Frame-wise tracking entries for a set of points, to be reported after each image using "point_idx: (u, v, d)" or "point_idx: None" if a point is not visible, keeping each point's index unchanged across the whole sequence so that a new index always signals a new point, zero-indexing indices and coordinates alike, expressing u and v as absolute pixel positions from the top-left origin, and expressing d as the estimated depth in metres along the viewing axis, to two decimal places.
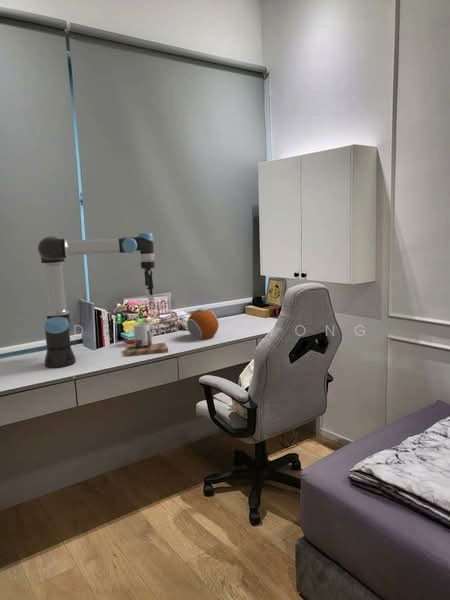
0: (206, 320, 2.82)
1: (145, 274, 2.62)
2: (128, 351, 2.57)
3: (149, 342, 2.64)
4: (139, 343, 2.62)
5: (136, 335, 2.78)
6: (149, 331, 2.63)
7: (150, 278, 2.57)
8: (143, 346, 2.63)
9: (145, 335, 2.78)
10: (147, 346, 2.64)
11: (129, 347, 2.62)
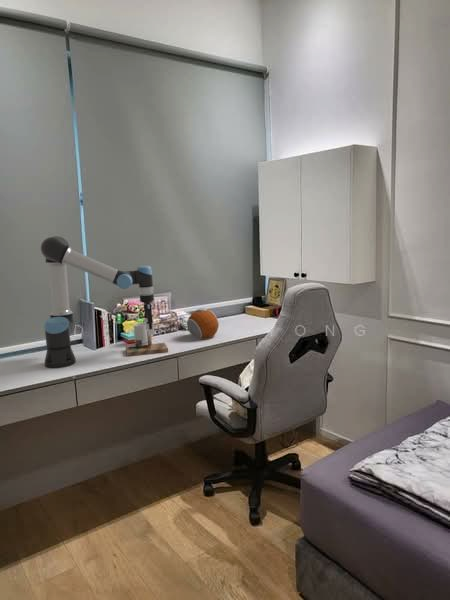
0: (206, 320, 2.82)
1: (144, 308, 2.59)
2: (128, 351, 2.57)
3: (149, 342, 2.64)
4: (139, 343, 2.62)
5: (136, 335, 2.78)
6: None
7: (149, 312, 2.54)
8: (143, 346, 2.63)
9: (145, 335, 2.78)
10: (147, 346, 2.64)
11: (129, 347, 2.62)
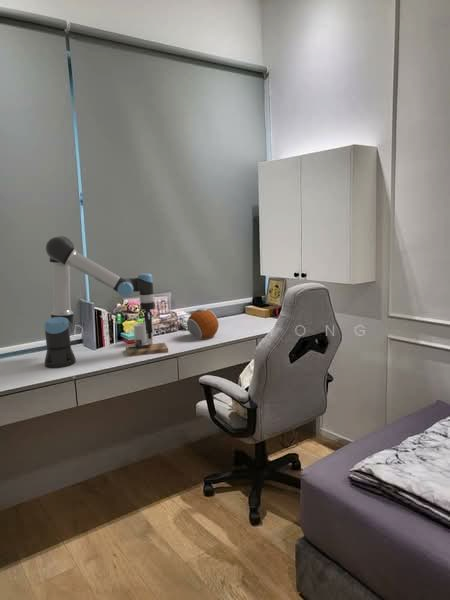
0: (206, 320, 2.82)
1: (145, 316, 2.60)
2: (128, 351, 2.57)
3: None
4: (139, 343, 2.62)
5: (136, 335, 2.78)
6: None
7: (149, 323, 2.58)
8: (143, 346, 2.63)
9: (145, 335, 2.78)
10: (147, 346, 2.64)
11: (129, 347, 2.62)
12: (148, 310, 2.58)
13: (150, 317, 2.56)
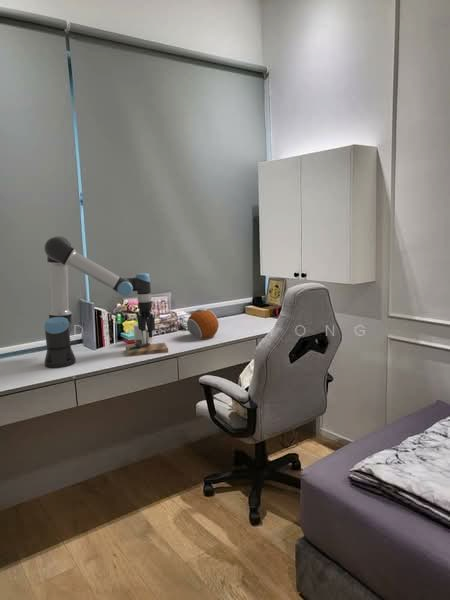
0: (206, 320, 2.82)
1: (145, 315, 2.62)
2: (128, 351, 2.57)
3: None
4: (140, 343, 2.62)
5: (136, 335, 2.78)
6: None
7: (153, 321, 2.62)
8: (143, 346, 2.64)
9: None
10: (147, 345, 2.66)
11: (130, 348, 2.60)
12: (149, 309, 2.62)
13: (154, 315, 2.61)
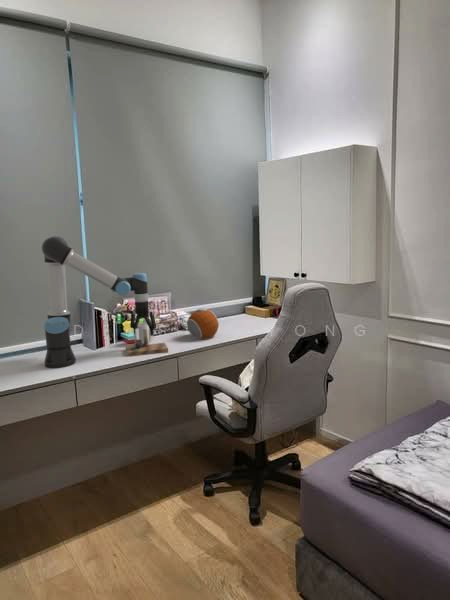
0: (206, 320, 2.82)
1: (143, 314, 2.64)
2: (128, 351, 2.57)
3: (146, 340, 2.68)
4: (141, 343, 2.63)
5: None
6: (146, 329, 2.67)
7: (153, 319, 2.64)
8: (143, 345, 2.65)
9: None
10: None
11: (133, 348, 2.59)
12: None
13: (153, 312, 2.64)
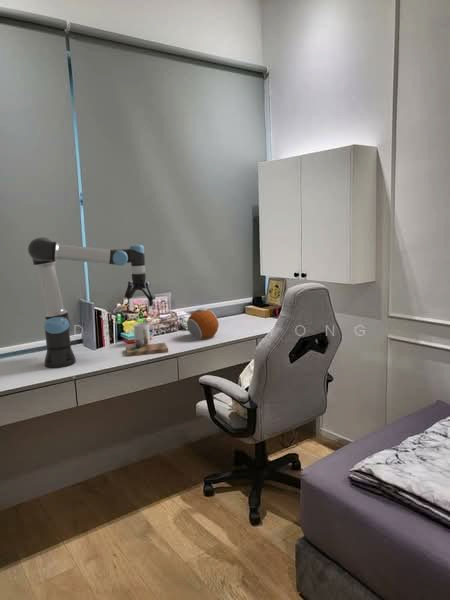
0: (206, 320, 2.82)
1: (140, 286, 2.61)
2: (128, 351, 2.57)
3: (146, 340, 2.68)
4: (141, 343, 2.63)
5: (136, 335, 2.78)
6: (146, 329, 2.67)
7: (150, 289, 2.60)
8: (143, 345, 2.65)
9: None
10: None
11: (133, 348, 2.59)
12: None
13: (149, 283, 2.61)
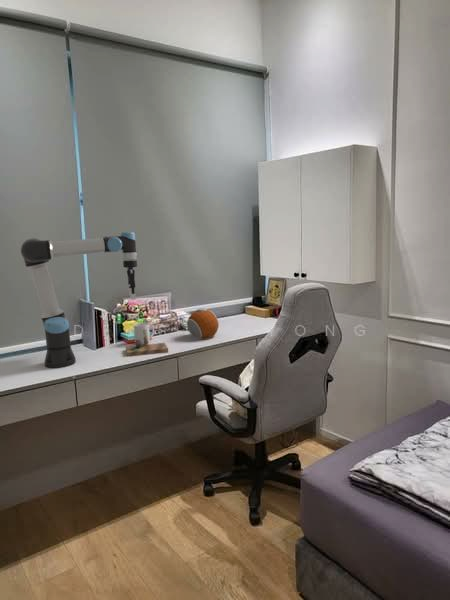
0: (206, 320, 2.82)
1: (127, 273, 2.64)
2: (128, 351, 2.57)
3: (146, 340, 2.68)
4: (141, 343, 2.63)
5: (136, 335, 2.78)
6: (146, 329, 2.67)
7: (132, 277, 2.59)
8: (143, 345, 2.65)
9: None
10: None
11: (133, 348, 2.59)
12: None
13: (132, 271, 2.60)
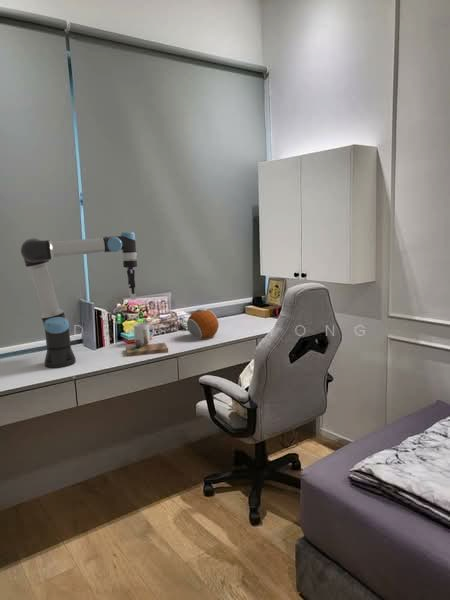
0: (206, 320, 2.82)
1: (127, 273, 2.64)
2: (128, 351, 2.57)
3: (146, 340, 2.68)
4: (141, 343, 2.63)
5: (136, 335, 2.78)
6: (146, 329, 2.67)
7: (132, 277, 2.59)
8: (143, 345, 2.65)
9: None
10: None
11: (133, 348, 2.59)
12: None
13: (132, 271, 2.60)
